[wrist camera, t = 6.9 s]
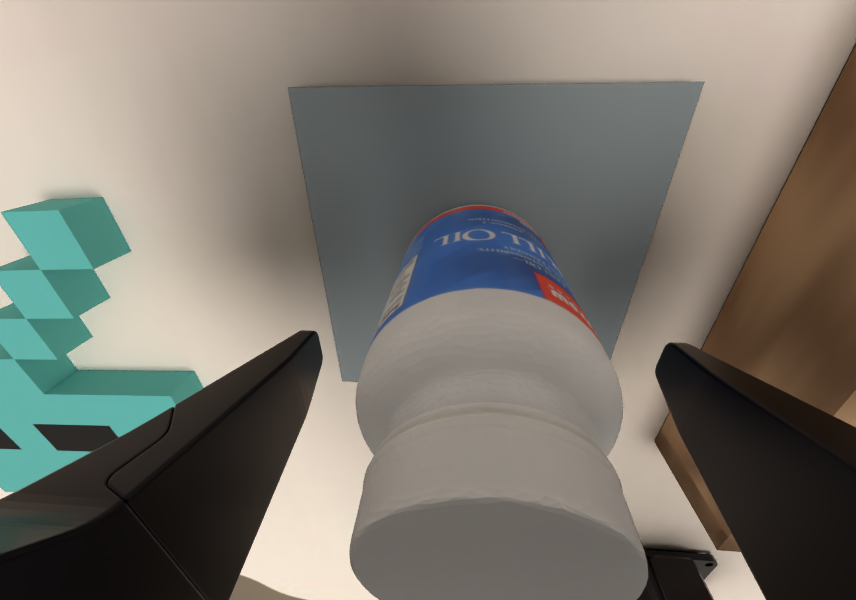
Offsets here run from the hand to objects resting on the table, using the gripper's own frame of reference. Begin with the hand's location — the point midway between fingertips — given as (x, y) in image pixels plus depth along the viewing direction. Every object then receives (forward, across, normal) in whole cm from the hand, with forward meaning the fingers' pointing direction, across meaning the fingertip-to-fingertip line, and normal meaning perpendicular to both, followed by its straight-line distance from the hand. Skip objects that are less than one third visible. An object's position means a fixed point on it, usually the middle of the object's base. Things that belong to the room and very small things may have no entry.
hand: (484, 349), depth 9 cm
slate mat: (+5, 0, 0) cm, 5 cm away
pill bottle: (+5, 0, 0) cm, 5 cm away
